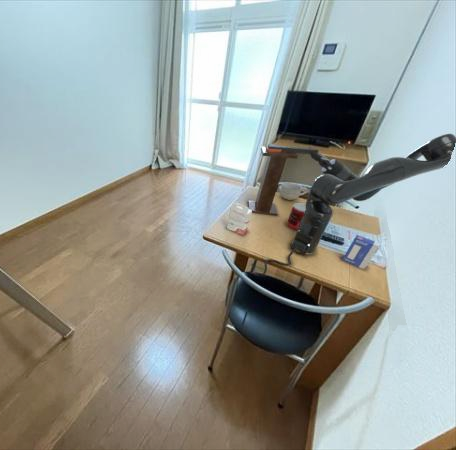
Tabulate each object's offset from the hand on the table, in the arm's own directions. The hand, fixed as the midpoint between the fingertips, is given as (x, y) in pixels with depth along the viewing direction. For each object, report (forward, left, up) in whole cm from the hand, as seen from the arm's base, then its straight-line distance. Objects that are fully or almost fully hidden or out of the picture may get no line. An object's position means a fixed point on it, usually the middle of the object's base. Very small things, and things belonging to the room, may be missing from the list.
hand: (310, 151), depth 115 cm
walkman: (-17, -38, -33) cm, 53 cm away
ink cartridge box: (-37, +5, -33) cm, 50 cm away
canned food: (-10, -9, -33) cm, 36 cm away
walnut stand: (-9, +10, -33) cm, 35 cm away
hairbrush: (-6, +7, -1) cm, 9 cm away
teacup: (+16, +7, -33) cm, 37 cm away
